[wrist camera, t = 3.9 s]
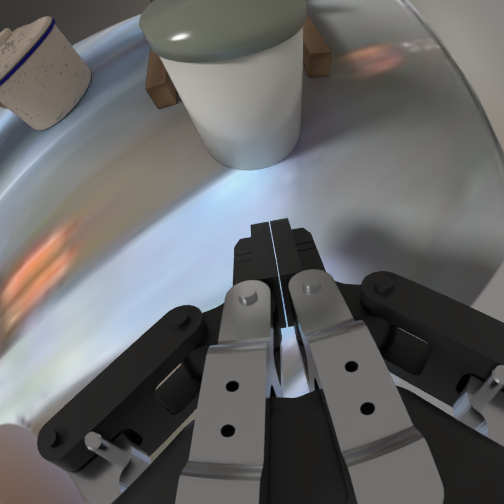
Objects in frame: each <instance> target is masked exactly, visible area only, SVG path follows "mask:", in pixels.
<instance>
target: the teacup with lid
mask: <svg viewBox="0 0 504 504" xmlns="http://www.w3.org/2000/svg"><path fill="white" fill-rule="evenodd" d="M90 80H91V71H90V69H89V67H88V66H87V65H86V64H85V62H84V61H83V60H82V58H81V57H80V56H79V55H78V53H77V52H76V51H75V50H74V48H73V47H72V46H71V45H70V43H69V42H68V41H67V40H66V38H65V37H64V36H63V34H62V33H61V32H60V31H59V29H58V28H57V27H56V25H55V20H54V19H53V18H51V17H43V18H40V19H38V20H37V21H35V22H33V23H31V24H28V25H25V26H22V27H19V28H18V29H16V30H15V31H13V32H12V33H11V30H10V29H9V28H7V29H4V30H3V31H2V32H1V33H0V107H1V108H4V109H9V110H11V111H12V112H13V113H14V114H16V115H17V116H18V117H19V118H21V119H22V120H23V121H24V122H26V123H27V124H28V125H29V126H31V127H32V128H33V129H35V130H44V129H47V128H49V127H51V126H53V125H55V124H56V123H57V122H59V121H60V120H61V119H63V118H64V117H65V116H66V115H67V114H68V113H69V112H70V111H71V110H72V109H73V108H74V107H75V106H76V104H77V103H78V102H79V101H80V99H81V98H82V96H83V95H84V93H85V92H86V90H87V88H88V86H89V83H90Z"/></svg>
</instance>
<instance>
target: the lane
mask: <svg viewBox="0 0 504 504" xmlns="http://www.w3.org/2000/svg"><path fill="white" fill-rule="evenodd" d="M153 1H154V0H151V3H152V2H153ZM330 60H331V51H330V49H329V48H328V46H327V44H326V42H325V41H324V39H323V38H322V36H321V34H320V33H319V31H318V29H317V28H316V26H315V25H314V23H313V22H312V20H311V19H310V17H309V16H308V14H307V16H306V22H305V24H304V26H303V64H304V67H305V69H306V71H307V73H308V76H309V78H310V77H322V76H329V68H330ZM146 91H147V92H148V94H149V95H150V97H151V99H152V100H153V102H154V103H155V105H156V106H157V108H158V109H161V108H164V107H167V106H170V105H174V104H177V90H176V88H175V86H174V84H173V82H172V80H171V78H170V76H169V74H168V72H167V70H166V68H165V66H164V64H163V62H162V60H161V59H160V57H159V56H158V55H157V54H156V53H154V52H153V50H152V49H151V48H150V55H149V62H148V70H147V79H146Z"/></svg>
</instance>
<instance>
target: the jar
mask: <svg viewBox="0 0 504 504" xmlns="http://www.w3.org/2000/svg"><path fill="white" fill-rule="evenodd" d="M306 16H307V0H154V1H153V2H152V3H150V4H149V5H148V7H147V8H146V9H145V10H144V12H143V13H142V15H141V17H140V21H139V25H140V28H141V30H142V32H143V34H144V36H145V38H146V40H147V41H148V43H149V45H150V47H151V49H152V50H153V52H154V53H156V54H157V55H158V56H159V57H160V59H161V60H162V62H163V64H164V66H165V68H166V70H167V72H168V74H169V76H170V78H171V80H172V82H173V84H174V86H175V88H176V90H177V92H178V94H179V96H180V98H181V99H182V101H183V103H184V105H185V107H186V109H187V111H188V113H189V115H190V117H191V119H192V121H193V123H194V125H195V127H196V129H197V131H198V133H199V135H200V137H201V139H202V141H203V143H204V145H205V147H206V149H207V150H208V152H209V154H210V155H211V156H212V157H213V158H214V159H215V160H216V161H218V162H219V163H221V164H223V165H225V166H227V167H230V168H233V169H237V170H258V169H263V168H267V167H270V166H272V165H274V164H276V163H278V162H280V161H281V160H283V159H284V158H286V157H287V156H288V155H289V154H290V153H291V152H292V151H293V149H294V148H295V146H296V145H297V142H298V140H299V137H300V130H301V106H302V72H303V26H304V24H305V22H306Z"/></svg>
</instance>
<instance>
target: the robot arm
mask: <svg viewBox="0 0 504 504" xmlns="http://www.w3.org/2000/svg"><path fill="white" fill-rule="evenodd" d="M270 224H271V230H272V235H273V241H274V246H275V252H276V258H277V264H278V269H279V275H280V281H281V286H282V292H283V298H284V304H285V310H286V316H287V321H288V327H290V326H294V328H295V334H296V341H297V346H298V350H299V354H300V357H301V361H302V365H303V368H304V372H305V376H306V379H307V383H308V387H309V392H310V393H307V394H305V395H303V396H300V397H297V398H284V397H283V371H282V345H281V341H282V335H281V328H285V327H286V321H285V314H284V308H283V302H282V295H281V289H280V283H279V277H278V271H277V265H276V259H275V254H274V248H273V243H272V238H271V232H270V227H269V222H263V223H258V224H253V225H251V237H249V238H244V239H240V240H239V241H238V243H237V244H236V246H235V247H234V269H233V287H232V288H231V289H230V290H229V291H228V292H227V294H226V297H225V302H224V303H223V304H222V305H220V306H218V307H216V308H214V309H212V310H209V311H207V312H204V313H202V312H201V311H200V309H199V308H197V307H195V306H191V305H183V306H179V307H176V308H174V309H172V310H170V311H169V312H168V313H166V314H165V315H164V316H163V317H162V318H161V319H160V320H159V321H158V322H156V323H155V324H154V325H153V326H152V327H151V328H150V329H149V330H148V331H146V332H145V333H144V334H143V335H142V336H141V337H140V338H139V339H138V340H136V341H135V342H134V343H133V344H132V345H131V346H130V347H129V348H128V349H126V350H125V351H124V352H123V353H122V354H121V355H120V356H119V357H118V358H117V359H115V360H114V361H113V362H112V363H111V364H110V365H109V366H108V367H107V368H106V369H104V370H103V371H102V372H101V373H100V374H99V375H98V376H97V377H96V378H95V379H93V380H92V381H91V382H90V383H89V384H88V385H87V386H86V387H85V388H84V389H83V390H81V391H80V392H79V393H78V394H77V395H76V396H75V397H74V398H73V399H72V400H71V401H70V402H68V403H67V404H66V405H65V406H64V407H63V408H62V409H61V410H60V411H59V412H58V413H57V414H56V415H54V416H53V417H52V418H51V419H50V420H49V421H48V422H47V423H46V424H45V425H44V426H43V427H42V429H41V430H40V432H39V435H38V441H37V446H38V450H39V452H40V454H41V456H42V457H43V458H44V459H46V460H48V461H49V462H51V463H53V464H55V465H57V466H58V467H60V468H62V469H63V470H64V471H66V472H68V473H69V475H70V476H71V478H72V479H73V481H74V482H75V484H76V485H77V487H78V488H79V490H80V491H81V493H82V494H83V495H84V497H85V498H86V500H87V501H88V502H89V504H504V323H503V322H501V321H499V320H496V319H494V318H492V317H490V316H488V315H486V314H484V313H482V312H480V311H477V310H475V309H473V308H471V307H469V306H467V305H464V304H462V303H460V302H458V301H456V300H454V299H451V298H449V297H447V296H445V295H442V294H440V293H438V292H436V291H433V290H431V289H429V288H427V287H424V286H422V285H420V284H417V283H415V282H413V281H411V280H408V279H406V278H404V277H401V276H399V275H397V274H394V273H391V272H386V271H379V272H374V273H371V274H369V275H368V276H366V277H365V278H364V279H363V281H362V284H361V285H352V284H343V283H339V282H337V281H334V279H333V277H332V276H331V275H330V274H329V273H327V272H326V271H325V268H324V266H323V263H322V260H321V258H320V255H319V253H318V250H317V248H316V245H315V243H314V240H313V238H312V235H311V233H310V232H308V231H307V230H306V229H304V228H298V229H292V230H291V227H290V224H289V220H288V218H285V219H279V220H274V221H270ZM398 327H399V328H401V329H403V330H405V331H407V332H409V333H411V334H413V335H415V336H417V337H419V338H420V339H422V340H424V341H426V342H427V343H428V344H427V343H425V342H424V341H422V340H420V339H418V338H416V337H414V336H412V335H410V334H408V333H406V332H404V331H402V330H400V329H398ZM180 363H181V364H182V365H181V366H180V367H179V368H178V369H177V370H176V371H175V372H174V373H173V374H172V375H171V376H170V377H169V378H168V379H167V380H166V381H165V382H164V383H163V384H162V385H161V386H160V387H159V388H158V389H157V390H155V389H156V387H157V386H158V385H159V384H160V383H161V382H162V381H163V380H164V379H165V378H166V377H167V376H168V375H169V374H170V373H171V372H172V371H173V370H174V369H175V368H176V367H177V366H178V365H179V364H180ZM389 372H391V373H393V374H394V375H396V376H398V377H399V378H401V379H403V380H405V381H407V382H408V383H410V384H412V385H414V386H415V387H417V388H419V389H421V390H422V391H424V392H426V393H428V394H430V395H432V396H433V397H435V398H437V399H439V400H440V401H442V402H444V403H446V404H448V405H449V406H451V407H453V413H454V417H455V418H454V417H452V416H450V415H449V414H447V413H445V412H444V411H442V410H440V409H439V408H437V407H436V406H434V405H432V404H430V403H429V402H427V401H425V400H424V399H422V398H421V397H419V396H418V395H416V394H414V393H412V392H411V391H409V390H407V389H404V388H402V387H399V386H396V385H395V383H394V381H393V379H392V377H391V375H390V373H389ZM196 408H197V412H196V418H195V420H193V421H192V422H190V423H189V424H188V425H187V426H186V427H185V428H184V429H183V430H182V431H181V432H180V433H179V434H178V435H177V436H176V437H175V439H174V440H173V441H172V442H171V443H170V444H169V445H168V446H167V447H166V448H165V449H164V451H163V452H162V453H161V454H160V455H159V456H158V457H157V458H156V459H155V460H154V461H153V462H152V463H151V464H150V459H149V456H150V455H151V454H153V453H154V452H155V451H156V450H157V449H158V448H159V447H160V446H161V445H162V444H163V443H164V442H165V441H166V440H167V439H168V438H169V437H170V436H171V434H172V433H173V432H174V431H175V430H176V429H177V428H178V427H179V426H180V425H181V424H182V423H183V422H184V421H185V420H186V419H187V418H188V417H189V416H190V415H191V414H192V413H193V412H194V410H195V409H196Z"/></svg>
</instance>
